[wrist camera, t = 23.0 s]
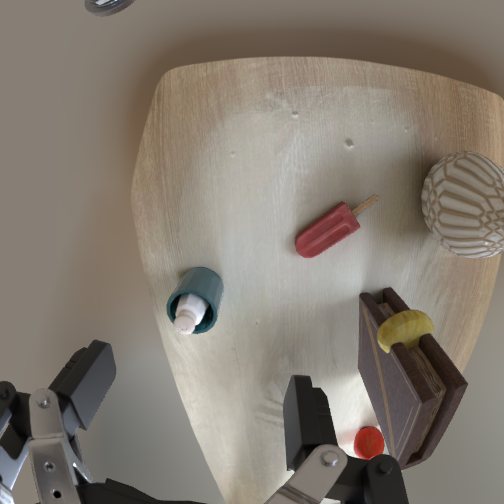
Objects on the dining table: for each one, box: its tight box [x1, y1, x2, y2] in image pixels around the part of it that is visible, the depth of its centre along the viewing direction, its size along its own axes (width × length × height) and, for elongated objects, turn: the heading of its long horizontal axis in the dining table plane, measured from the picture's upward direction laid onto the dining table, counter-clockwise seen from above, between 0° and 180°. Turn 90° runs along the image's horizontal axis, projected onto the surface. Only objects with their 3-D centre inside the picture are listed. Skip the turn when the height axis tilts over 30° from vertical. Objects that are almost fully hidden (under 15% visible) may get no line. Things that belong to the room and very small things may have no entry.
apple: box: [354, 427, 385, 460], centre depth 54 cm, size 8×8×11 cm
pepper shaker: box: [174, 292, 210, 334], centre depth 39 cm, size 5×5×11 cm
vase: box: [421, 151, 504, 258], centre depth 29 cm, size 16×16×20 cm
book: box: [358, 287, 468, 470], centre depth 36 cm, size 22×8×25 cm, turn 11°
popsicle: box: [295, 195, 378, 258], centre depth 40 cm, size 4×2×15 cm
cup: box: [167, 267, 224, 334], centre depth 42 cm, size 7×7×8 cm
